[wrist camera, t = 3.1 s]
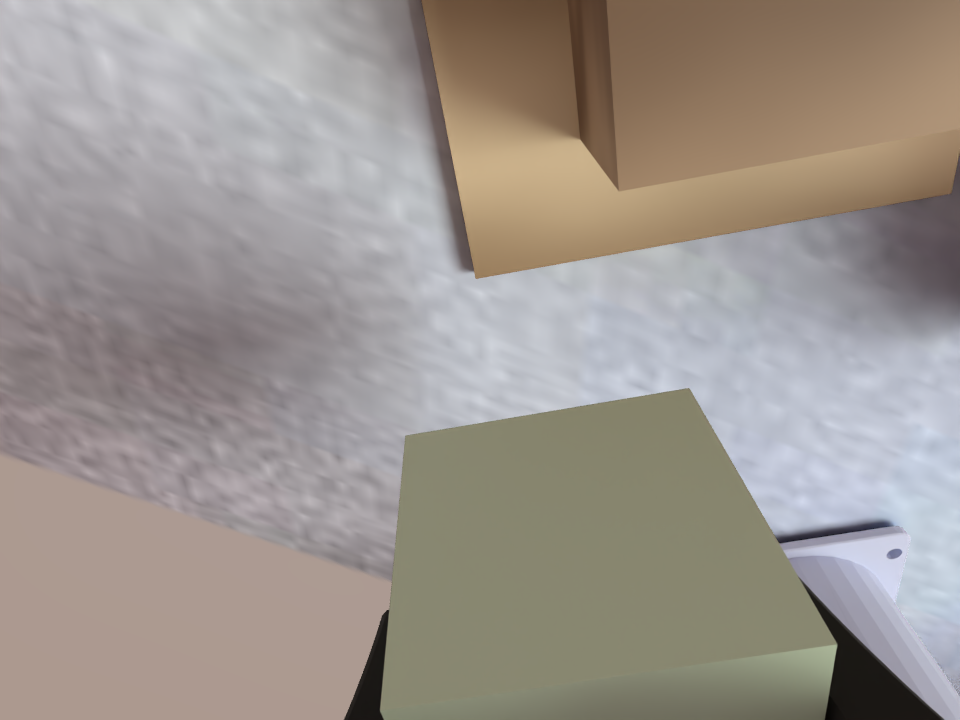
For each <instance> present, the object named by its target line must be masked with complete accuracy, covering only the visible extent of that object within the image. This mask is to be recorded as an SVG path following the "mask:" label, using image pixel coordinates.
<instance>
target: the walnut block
mask: <svg viewBox="0 0 960 720" xmlns="http://www.w3.org/2000/svg"><path fill="white" fill-rule="evenodd" d="M567 1H568V12H569V23H570V34H571V45H572V56H573V66H574V77H575V88H576V99H577V110H578V121H579V132H580V140H581V141H582V143H583V144H584V145H585V147H586V148H587V149H588V151H589V152H590V153H591V155H592V156H593V157H594V159H595V160H596V161H597V163H598V164H599V166H600V167H601V168H602V170H603V171H604V172H605V174H606V175H607V176H608V178H609V179H610V180H611V182H612V183H613V184H614V186H615V187H616V188H617V190H618V191H619V192H620V191H625V190H630V189H636V188H641V187H647V186H652V185H658V184H663V183H668V182H674V181H679V180H685V179H690V178H696V177H701V176H706V175H712V174H717V173H723V172H728V171H734V170H739V169H744V168H750V167H755V166H761V165H766V164H772V163H777V162H782V161H788V160H793V159H799V158H804V157H809V156H815V155H820V154H826V153H831V152H837V151H842V150H847V149H853V148H858V147H864V146H869V145H875V144H880V143H885V142H891V141H896V140H902V139H907V138H913V137H918V136H923V135H929V134H934V133H940V132H945V131H951V130H956V129H960V0H567Z"/></svg>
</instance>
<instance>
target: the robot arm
mask: <svg viewBox="0 0 960 720" xmlns="http://www.w3.org/2000/svg"><path fill="white" fill-rule="evenodd" d="M909 545H910V536H909V535H908V534H907V532H906V531H905V530H904V529H903V528H902V527H899V526H891V527H884V528H877V529H871V530H864V531H858V532H851V533H845V534H838V535H832V536H825V537H819V538H812V539H806V540H799V541H793V542H786V543H780V546H781V548H782V549H783V551H784V553H785V555H786V556H787V558H788V560H789V562H790V563H791V565H792V567H793V569H794V570H795V572H796V574H797V575H798V577H799V579H800V581H801V582H802V584H803V586H804V588H805V589H806V591H807V593H808V594H809V596H810V598H811V600H812V601H813V603H814V605H815V607H816V608H817V610H818V612H819V613H820V615H821V617H822V619H823V620H824V622H825V624H826V626H827V627H828V629H829V631H830V633H831V634H832V636H833V638H834V639H835V641H836V643H837V649H836V655H835V661H834V667H833V673H832V679H831V685H830V691H829V697H828V703H827V709H826V715H825V720H960V696H959V694H958V693H957V691H956V690H955V689H954V687H953V686H952V684H951V683H950V681H949V680H948V678H947V677H946V676H945V674H944V673H943V671H942V670H941V668H940V667H939V666H938V664H937V663H936V661H935V660H934V658H933V657H932V656H931V654H930V653H929V651H928V650H927V648H926V647H925V645H924V644H923V643H922V641H921V640H920V638H919V637H918V635H917V634H916V633H915V631H914V630H913V628H912V627H911V625H910V624H909V622H908V621H907V620H906V618H905V617H904V615H903V614H902V612H901V611H900V610H899V608H898V607H897V605H896V604H895V602H896V598H897V594H898V590H899V586H900V582H901V578H902V573H903V569H904V565H905V561H906V557H907V553H908V549H909ZM388 619H389V610H387V611H386V612H385V613H384V614H383V615H382V618H381V621H380V625H379V628H378V631H377V634H376V637H375V640H374V643H373V646H372V649H371V652H370V655H369V658H368V660H367V663H366V666H365V668H364V671H363V674H362V676H361V679H360V682H359V684H358V687H357V689H356V692H355V695H354V697H353V700H352V702H351V705H350V707H349V709H348V712H347V714H346V717H345V719H344V720H384V719H383V716H382V714H381V712H380V705H381V694H382V684H383V673H384V662H385V651H386V640H387V630H388Z"/></svg>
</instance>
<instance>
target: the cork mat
mask: <svg viewBox="0 0 960 720" xmlns="http://www.w3.org/2000/svg"><path fill="white" fill-rule="evenodd" d="M421 1H422V6H423V12H424V17H425V22H426V27H427V32H428V37H429V42H430V47H431V53H432V58H433V63H434V68H435V73H436V78H437V83H438V88H439V93H440V99H441V104H442V109H443V114H444V119H445V124H446V129H447V134H448V140H449V145H450V150H451V155H452V160H453V165H454V170H455V175H456V180H457V186H458V191H459V196H460V201H461V206H462V211H463V216H464V221H465V226H466V232H467V237H468V242H469V247H470V252H471V257H472V262H473V267H474V273H475V278H476V279H478V278H483V277H489V276H495V275H500V274H506V273H511V272H517V271H522V270H528V269H534V268H539V267H545V266H550V265H556V264H561V263H567V262H573V261H578V260H584V259H589V258H595V257H601V256H606V255H612V254H617V253H623V252H628V251H634V250H640V249H645V248H651V247H656V246H662V245H667V244H673V243H679V242H684V241H690V240H695V239H701V238H707V237H712V236H718V235H723V234H729V233H734V232H740V231H746V230H751V229H757V228H762V227H768V226H773V225H779V224H785V223H790V222H796V221H801V220H807V219H813V218H818V217H824V216H829V215H835V214H840V213H846V212H852V211H857V210H863V209H868V208H874V207H879V206H885V205H891V204H896V203H902V202H907V201H913V200H919V199H924V198H930V197H935V196H941V195H946V194H951V192H952V187H953V182H954V177H955V173H956V168H957V163H958V158H959V153H960V129H956V130H951V131H945V132H940V133H934V134H929V135H923V136H918V137H913V138H907V139H902V140H896V141H891V142H885V143H880V144H875V145H869V146H864V147H858V148H853V149H847V150H842V151H837V152H831V153H826V154H820V155H815V156H809V157H804V158H799V159H793V160H788V161H782V162H777V163H772V164H766V165H761V166H755V167H750V168H744V169H739V170H734V171H728V172H723V173H717V174H712V175H706V176H701V177H696V178H690V179H685V180H679V181H674V182H668V183H663V184H658V185H652V186H647V187H641V188H636V189H630V190H625V191H620V192H619V191H618V190H617V188H616V187H615V186H614V184H613V183H612V182H611V180H610V179H609V178H608V176H607V175H606V174H605V172H604V171H603V170H602V168H601V167H600V166H599V164H598V163H597V161H596V160H595V159H594V157H593V156H592V155H591V153H590V152H589V151H588V149H587V148H586V147H585V145H584V144H583V143H582V141H581V140H580V132H579V121H578V110H577V99H576V88H575V77H574V66H573V56H572V45H571V34H570V23H569V12H568V1H567V0H421Z"/></svg>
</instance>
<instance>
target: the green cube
mask: <svg viewBox="0 0 960 720" xmlns="http://www.w3.org/2000/svg"><path fill="white" fill-rule="evenodd" d="M836 649H837V643H836V641H835V639H834V638H833V636H832V634H831V633H830V631H829V629H828V627H827V626H826V624H825V622H824V620H823V619H822V617H821V615H820V613H819V612H818V610H817V608H816V607H815V605H814V603H813V601H812V600H811V598H810V596H809V594H808V593H807V591H806V589H805V588H804V586H803V584H802V582H801V581H800V579H799V577H798V575H797V574H796V572H795V570H794V569H793V567H792V565H791V563H790V562H789V560H788V558H787V556H786V555H785V553H784V551H783V549H782V548H781V546H780V544H779V543H778V541H777V539H776V537H775V536H774V534H773V532H772V530H771V529H770V527H769V525H768V524H767V522H766V520H765V518H764V517H763V515H762V513H761V511H760V510H759V508H758V506H757V505H756V503H755V501H754V499H753V498H752V496H751V494H750V492H749V491H748V489H747V487H746V485H745V484H744V482H743V480H742V479H741V477H740V475H739V473H738V472H737V470H736V468H735V466H734V465H733V463H732V461H731V460H730V458H729V456H728V454H727V453H726V451H725V449H724V447H723V446H722V444H721V442H720V441H719V439H718V437H717V435H716V434H715V432H714V430H713V428H712V427H711V425H710V423H709V422H708V420H707V418H706V416H705V415H704V413H703V411H702V409H701V408H700V406H699V404H698V402H697V401H696V399H695V397H694V396H693V394H692V392H691V390H690V389H689V388H687V389H681V390H675V391H669V392H663V393H657V394H651V395H645V396H639V397H633V398H627V399H621V400H615V401H609V402H603V403H597V404H591V405H585V406H580V407H574V408H568V409H562V410H556V411H550V412H544V413H538V414H532V415H526V416H520V417H514V418H508V419H502V420H496V421H490V422H484V423H478V424H472V425H466V426H460V427H454V428H448V429H442V430H437V431H431V432H425V433H419V434H413V435H407V436H405V446H404V456H403V467H402V478H401V489H400V500H399V511H398V521H397V532H396V543H395V554H394V565H393V575H392V586H391V597H390V609H389V619H388V630H387V640H386V651H385V662H384V673H383V684H382V694H381V705H380V712H381V714H382V716H383V719H384V720H825V715H826V709H827V703H828V697H829V691H830V685H831V679H832V673H833V667H834V661H835V655H836Z"/></svg>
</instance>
